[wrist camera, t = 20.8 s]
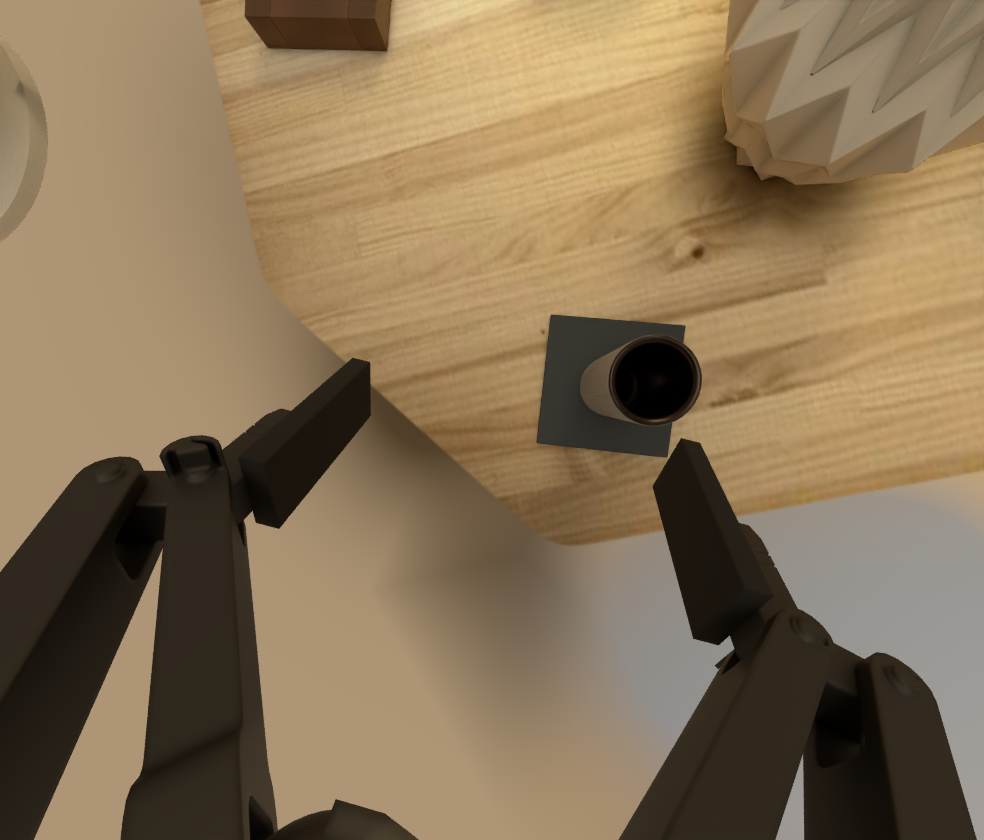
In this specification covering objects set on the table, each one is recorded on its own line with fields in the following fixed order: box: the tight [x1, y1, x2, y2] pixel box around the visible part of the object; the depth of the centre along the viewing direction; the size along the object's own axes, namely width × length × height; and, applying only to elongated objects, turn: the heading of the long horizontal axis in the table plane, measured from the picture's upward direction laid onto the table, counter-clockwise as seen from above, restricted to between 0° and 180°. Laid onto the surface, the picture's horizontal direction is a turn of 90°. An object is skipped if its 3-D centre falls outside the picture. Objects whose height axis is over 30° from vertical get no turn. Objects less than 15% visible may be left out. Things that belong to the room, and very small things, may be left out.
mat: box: [537, 315, 685, 457], centre depth 29 cm, size 10×10×1 cm
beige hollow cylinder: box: [580, 335, 702, 426], centre depth 24 cm, size 4×4×10 cm
